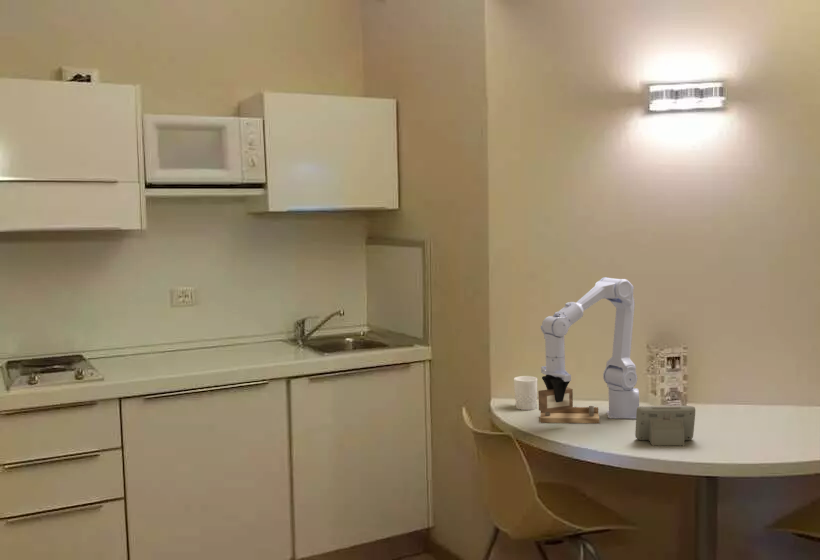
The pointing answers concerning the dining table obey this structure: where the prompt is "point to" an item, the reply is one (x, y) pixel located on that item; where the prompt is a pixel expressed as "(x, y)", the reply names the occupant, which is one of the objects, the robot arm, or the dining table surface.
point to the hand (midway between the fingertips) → (556, 400)
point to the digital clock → (665, 424)
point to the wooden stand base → (571, 415)
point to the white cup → (525, 392)
